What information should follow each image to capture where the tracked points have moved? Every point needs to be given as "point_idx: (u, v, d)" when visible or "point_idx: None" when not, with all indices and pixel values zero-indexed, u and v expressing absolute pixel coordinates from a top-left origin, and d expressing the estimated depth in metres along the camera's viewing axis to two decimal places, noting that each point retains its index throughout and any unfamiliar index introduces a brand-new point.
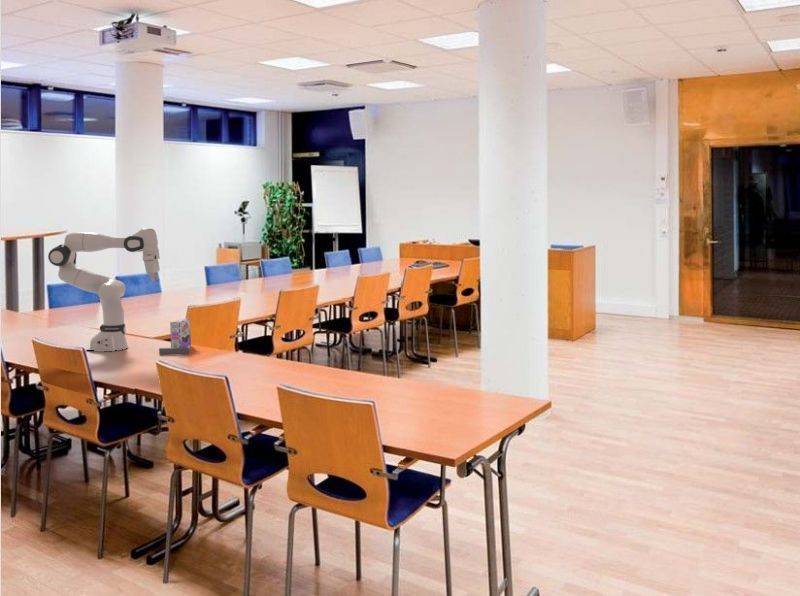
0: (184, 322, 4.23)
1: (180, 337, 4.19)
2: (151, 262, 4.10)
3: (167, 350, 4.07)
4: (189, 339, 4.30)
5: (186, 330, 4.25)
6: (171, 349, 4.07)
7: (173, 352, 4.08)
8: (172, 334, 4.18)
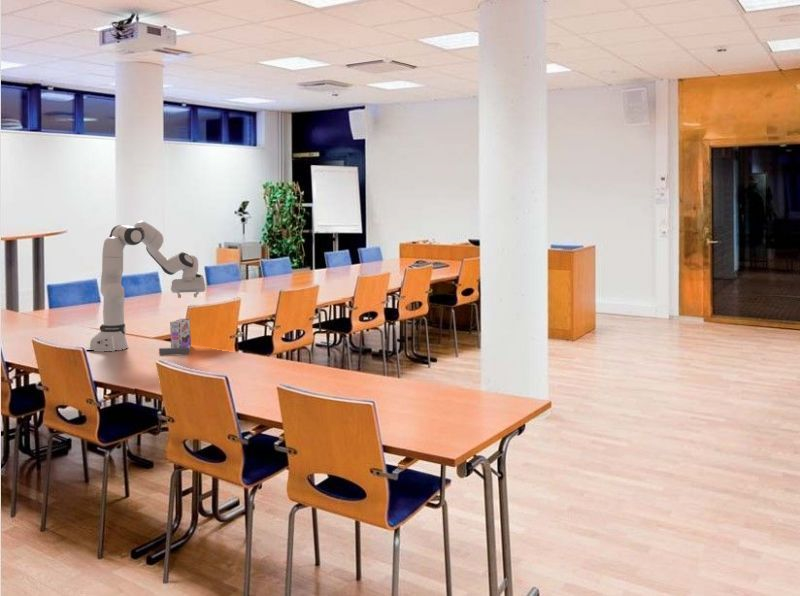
0: (184, 322, 4.23)
1: (180, 337, 4.19)
2: None
3: (167, 350, 4.07)
4: (189, 339, 4.30)
5: (186, 330, 4.25)
6: (171, 349, 4.07)
7: (173, 352, 4.08)
8: (172, 334, 4.18)
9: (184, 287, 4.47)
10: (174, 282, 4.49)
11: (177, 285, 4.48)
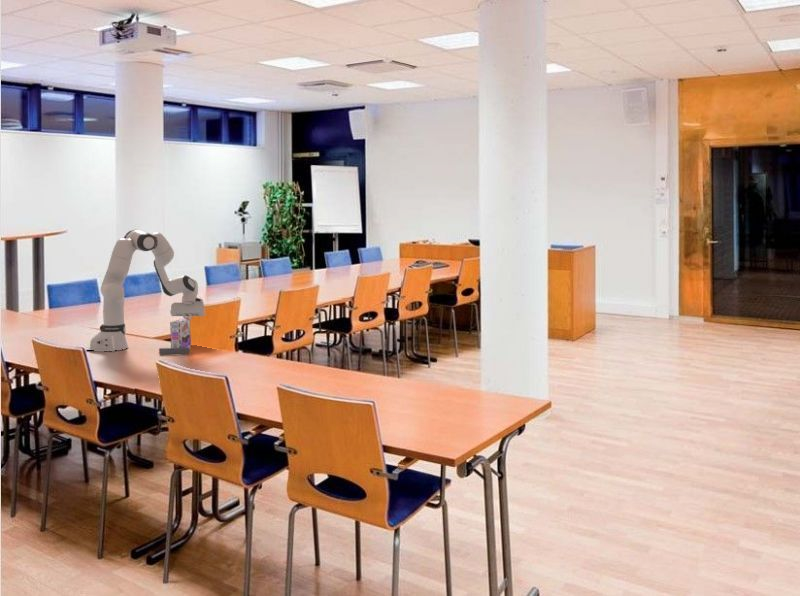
0: (184, 322, 4.23)
1: (180, 337, 4.19)
2: None
3: (167, 350, 4.07)
4: (189, 339, 4.30)
5: (186, 330, 4.25)
6: (171, 349, 4.07)
7: (173, 352, 4.08)
8: (172, 334, 4.18)
9: (184, 311, 4.46)
10: (174, 305, 4.48)
11: (177, 309, 4.47)
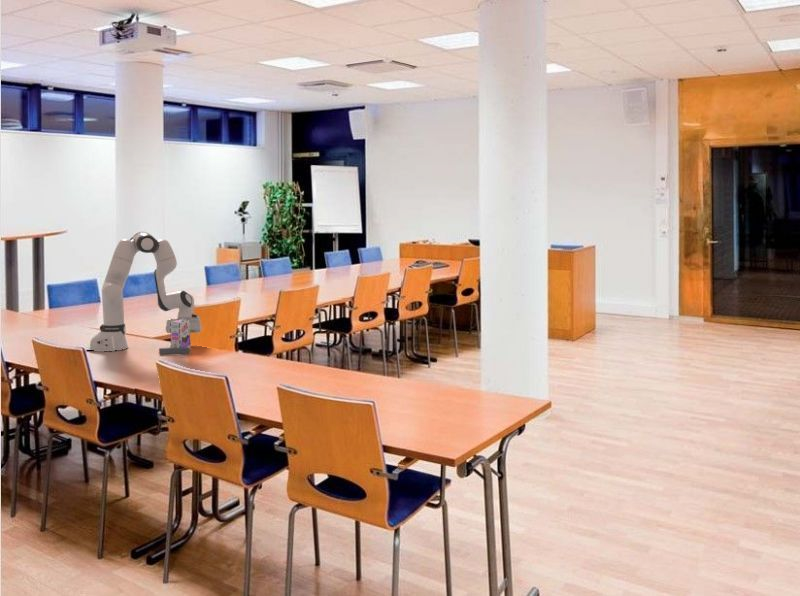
0: (184, 322, 4.21)
1: (180, 337, 4.17)
2: None
3: (167, 350, 4.07)
4: (189, 339, 4.29)
5: (186, 330, 4.24)
6: (171, 349, 4.07)
7: (173, 352, 4.08)
8: (172, 334, 4.17)
9: None
10: (169, 322, 4.35)
11: None
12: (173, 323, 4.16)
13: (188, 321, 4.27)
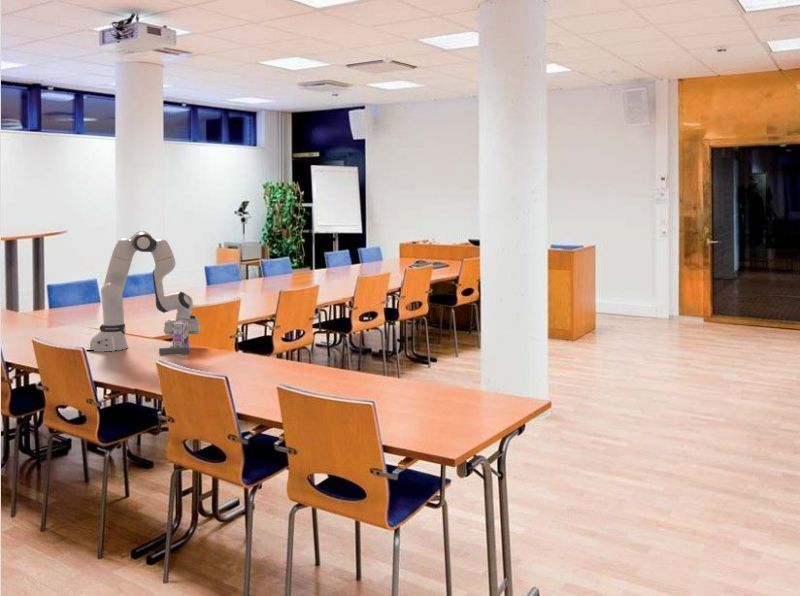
0: (185, 323, 4.17)
1: (183, 339, 4.13)
2: None
3: (167, 350, 4.07)
4: (188, 341, 4.25)
5: (186, 332, 4.20)
6: (171, 349, 4.07)
7: (173, 352, 4.08)
8: (174, 336, 4.12)
9: None
10: (167, 323, 4.30)
11: (170, 327, 4.29)
12: (176, 324, 4.11)
13: (187, 322, 4.23)
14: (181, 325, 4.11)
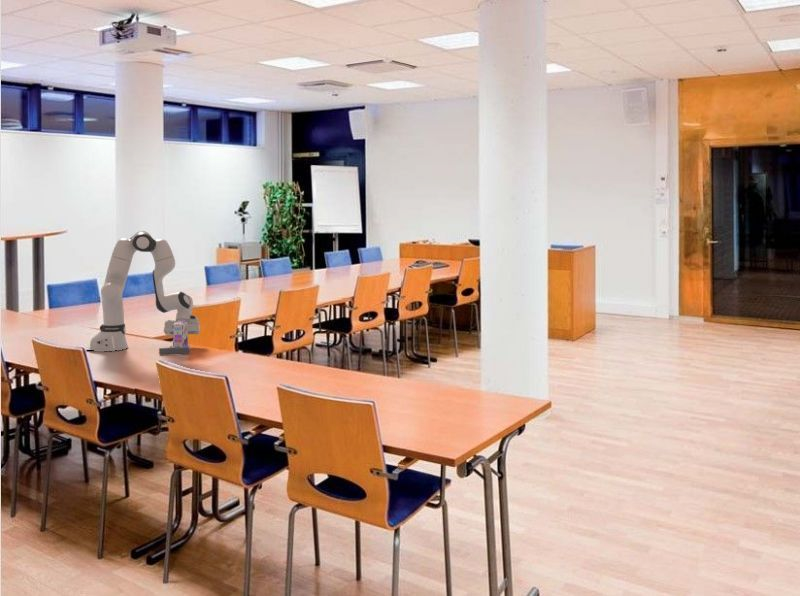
0: (185, 324, 4.16)
1: (183, 339, 4.12)
2: None
3: (167, 350, 4.07)
4: (187, 341, 4.23)
5: (186, 332, 4.18)
6: (171, 349, 4.07)
7: (173, 352, 4.08)
8: (174, 337, 4.10)
9: None
10: (167, 323, 4.29)
11: (170, 327, 4.28)
12: (176, 325, 4.09)
13: (186, 323, 4.21)
14: (181, 326, 4.10)
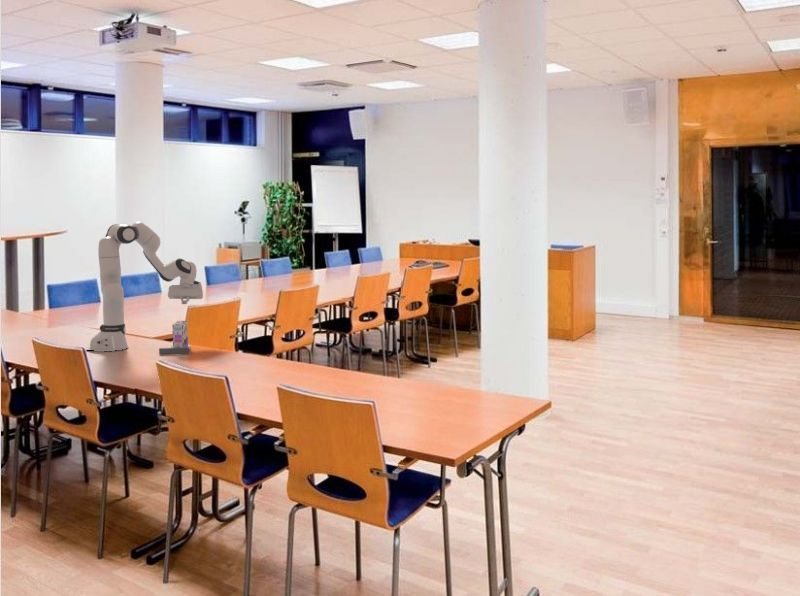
0: (185, 324, 4.16)
1: (183, 339, 4.12)
2: None
3: (167, 350, 4.07)
4: (187, 341, 4.23)
5: (186, 332, 4.18)
6: (171, 349, 4.07)
7: (173, 352, 4.08)
8: (175, 337, 4.10)
9: (182, 294, 4.39)
10: (171, 288, 4.41)
11: (174, 291, 4.40)
12: (176, 325, 4.09)
13: (186, 323, 4.21)
14: (181, 326, 4.10)
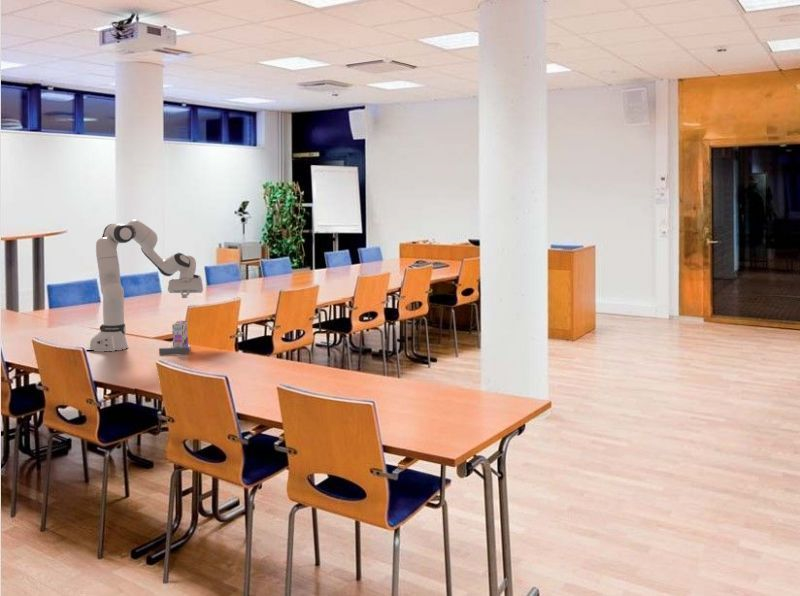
0: (185, 324, 4.16)
1: (183, 339, 4.12)
2: None
3: (167, 350, 4.07)
4: (187, 341, 4.23)
5: (186, 332, 4.18)
6: (171, 349, 4.07)
7: (173, 352, 4.08)
8: (174, 337, 4.10)
9: (182, 288, 4.39)
10: (171, 282, 4.41)
11: (174, 285, 4.40)
12: (176, 325, 4.09)
13: (186, 323, 4.21)
14: (181, 326, 4.10)
